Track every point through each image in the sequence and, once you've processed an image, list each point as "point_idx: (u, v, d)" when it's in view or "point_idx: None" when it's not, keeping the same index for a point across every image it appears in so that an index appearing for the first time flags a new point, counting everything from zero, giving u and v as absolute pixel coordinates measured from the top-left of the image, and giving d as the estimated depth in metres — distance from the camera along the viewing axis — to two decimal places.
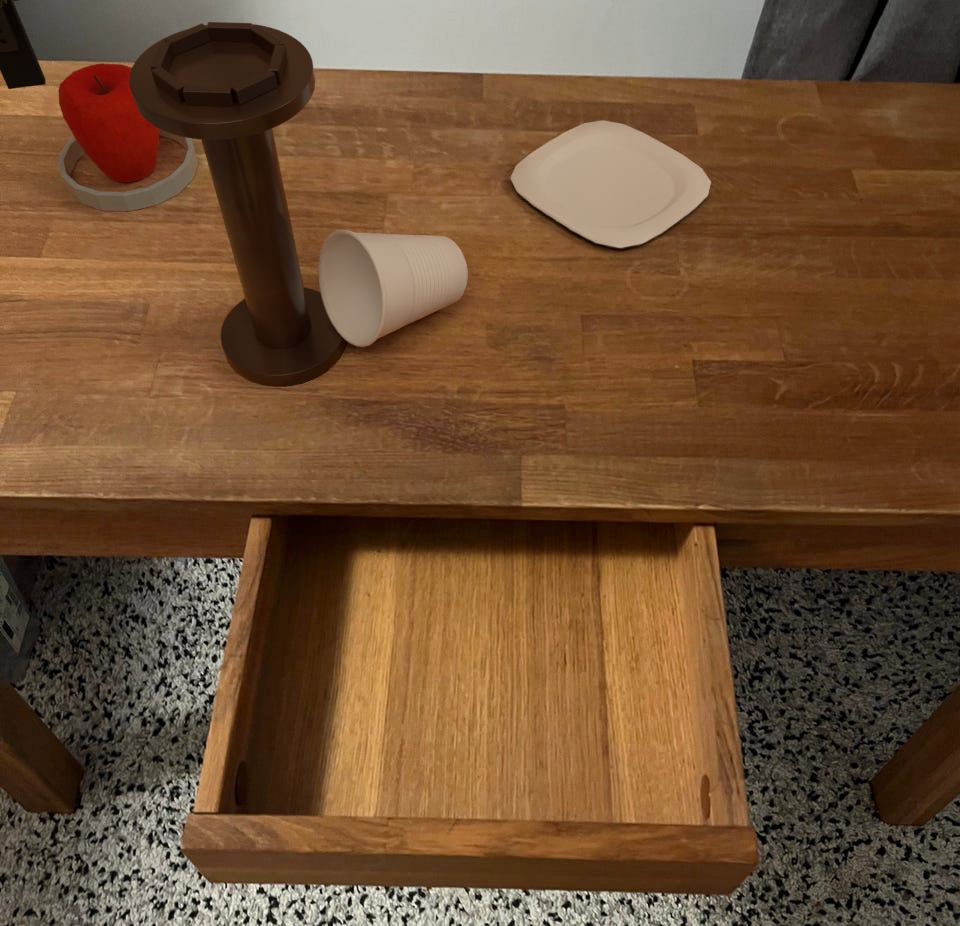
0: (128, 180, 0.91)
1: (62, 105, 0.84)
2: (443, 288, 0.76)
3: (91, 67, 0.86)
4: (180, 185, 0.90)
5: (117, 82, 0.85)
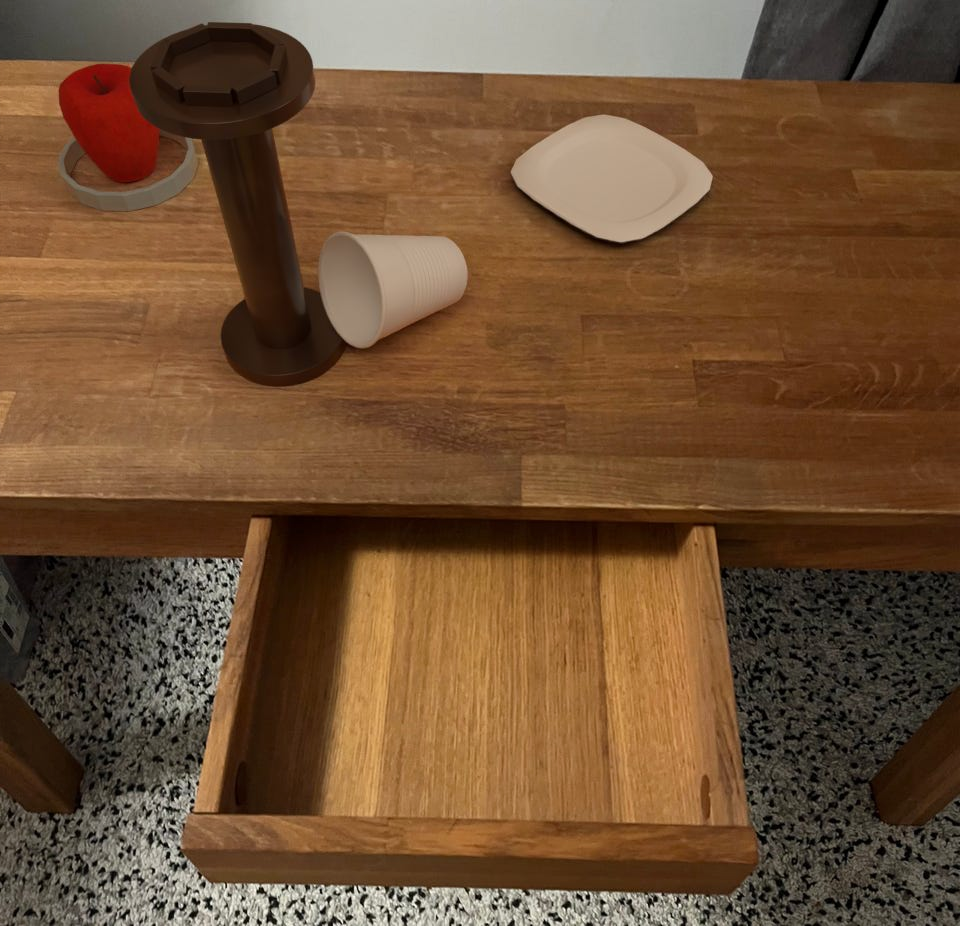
0: (128, 180, 0.91)
1: (62, 105, 0.84)
2: (443, 289, 0.76)
3: (91, 67, 0.86)
4: (180, 185, 0.90)
5: (117, 82, 0.85)
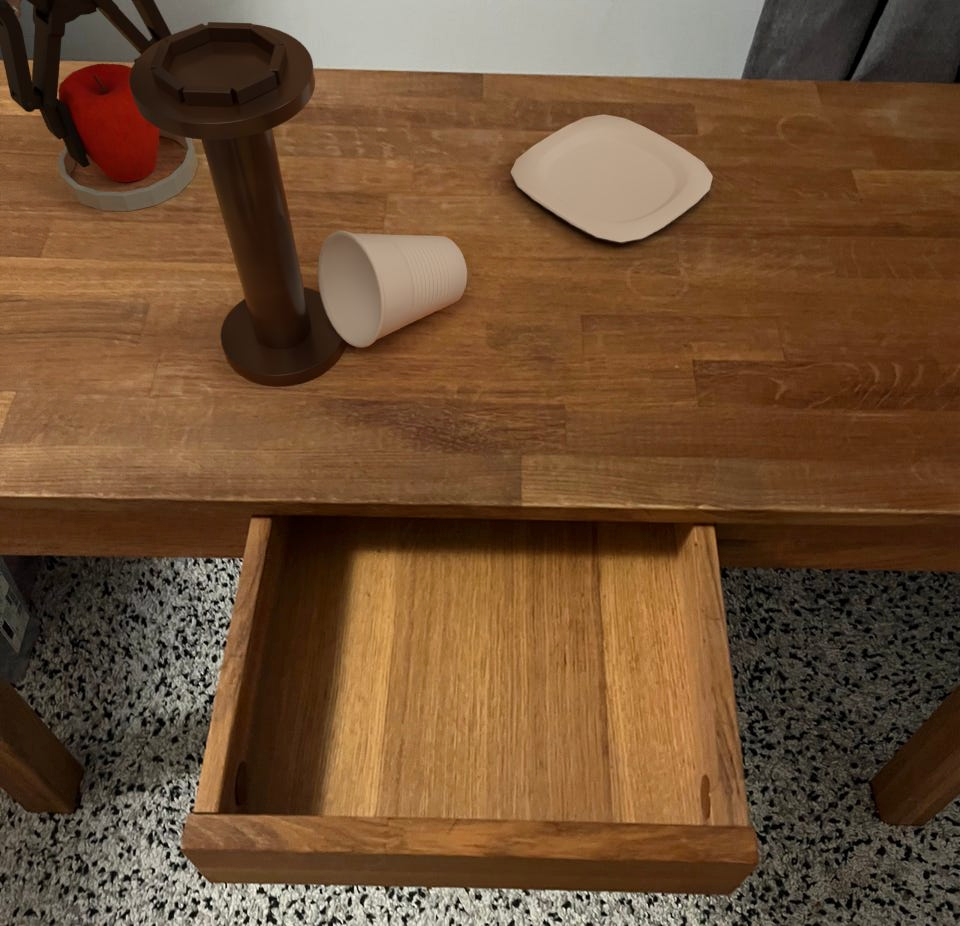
0: (128, 180, 0.91)
1: None
2: (442, 288, 0.76)
3: (91, 67, 0.86)
4: (180, 185, 0.90)
5: (117, 82, 0.85)
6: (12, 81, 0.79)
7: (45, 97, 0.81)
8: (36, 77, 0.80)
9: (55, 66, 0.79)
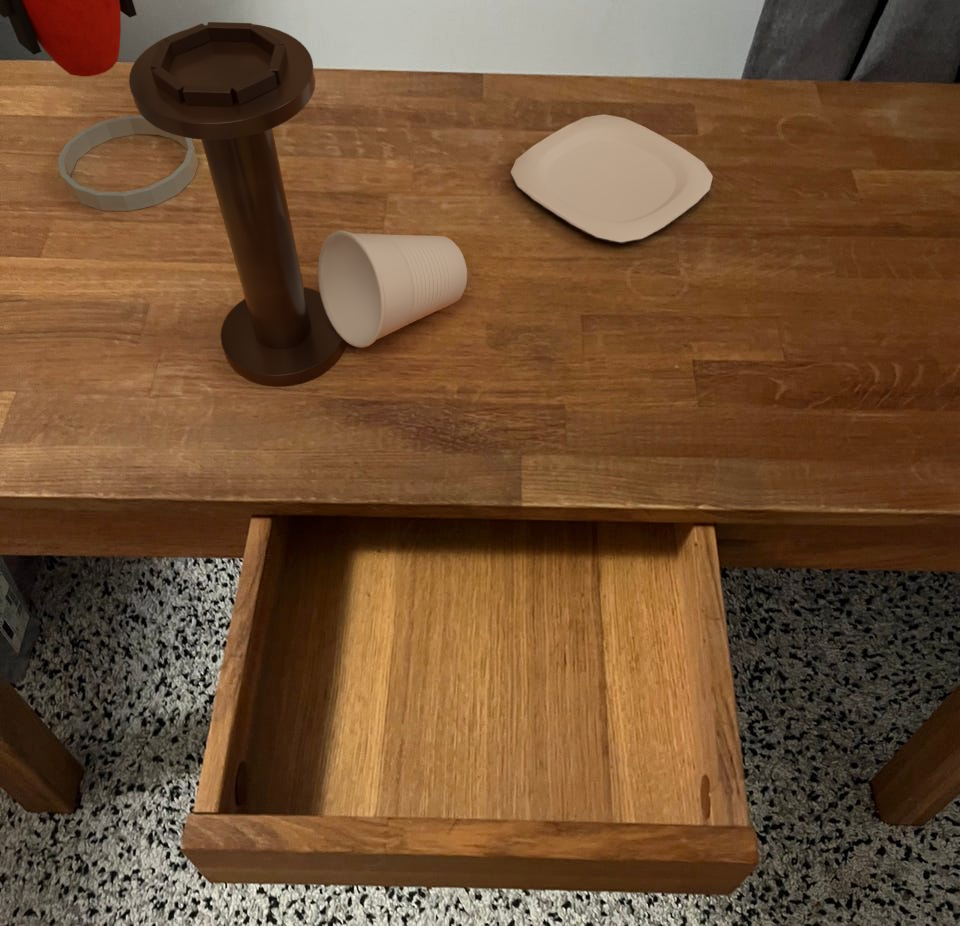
0: (86, 74, 0.81)
1: None
2: (442, 288, 0.76)
3: None
4: (180, 185, 0.90)
5: None
6: None
7: None
8: None
9: None
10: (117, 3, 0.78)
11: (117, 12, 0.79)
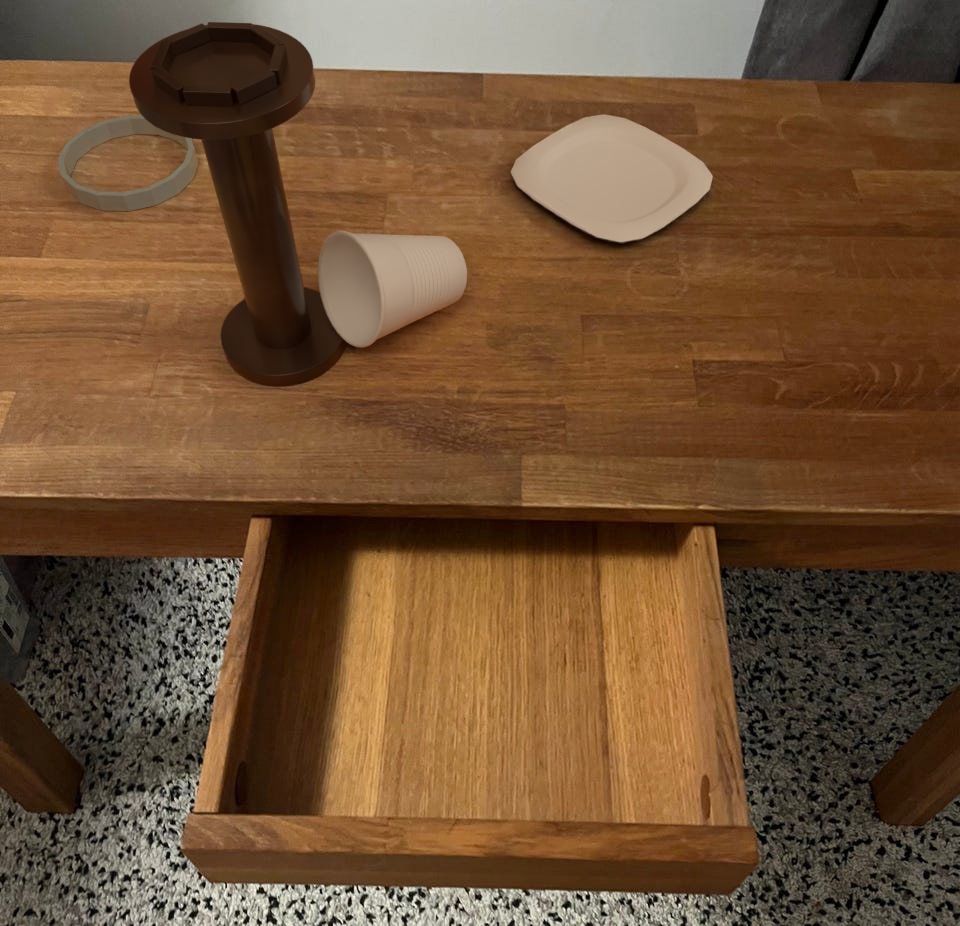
0: None
1: None
2: (442, 288, 0.76)
3: None
4: (180, 185, 0.90)
5: None
6: None
7: None
8: None
9: None
10: None
11: None
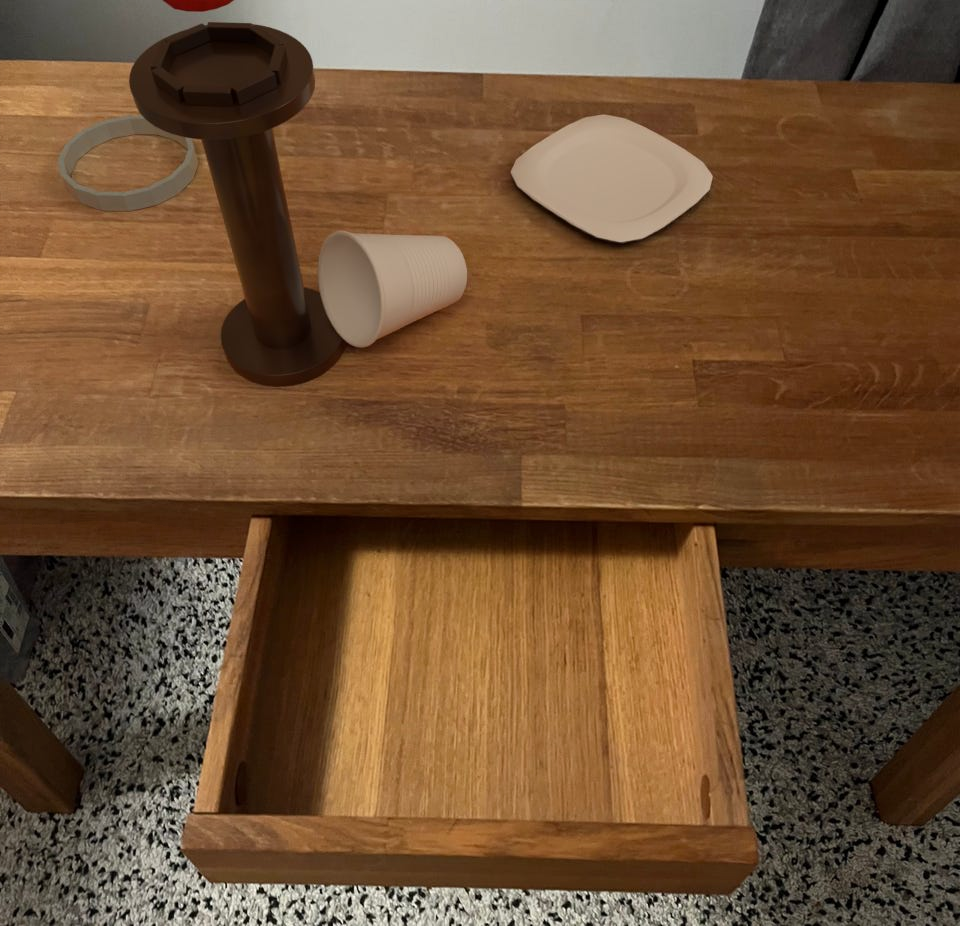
0: (199, 7, 0.52)
1: None
2: (442, 288, 0.76)
3: None
4: (180, 185, 0.90)
5: None
6: None
7: None
8: None
9: None
10: None
11: None
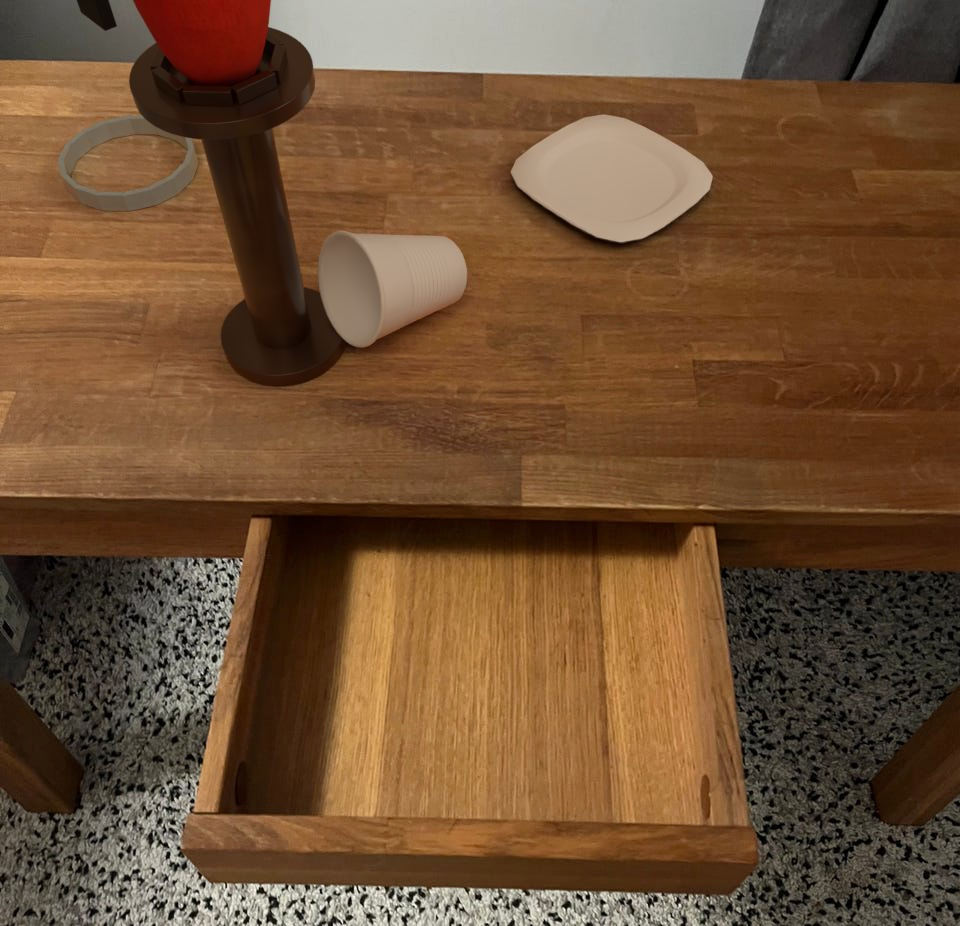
0: (218, 83, 0.56)
1: None
2: (442, 288, 0.76)
3: None
4: (180, 185, 0.90)
5: None
6: None
7: None
8: None
9: None
10: None
11: None
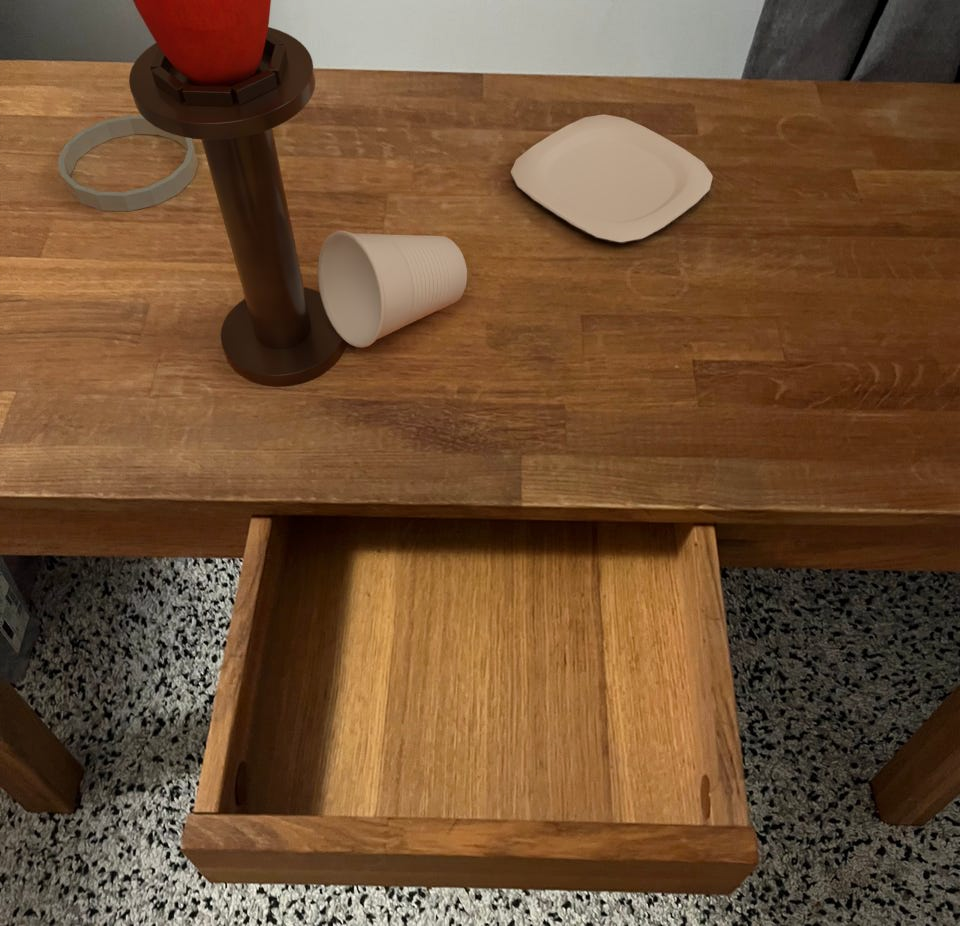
0: (218, 83, 0.56)
1: None
2: (442, 288, 0.76)
3: None
4: (180, 185, 0.90)
5: None
6: None
7: None
8: None
9: None
10: None
11: None
